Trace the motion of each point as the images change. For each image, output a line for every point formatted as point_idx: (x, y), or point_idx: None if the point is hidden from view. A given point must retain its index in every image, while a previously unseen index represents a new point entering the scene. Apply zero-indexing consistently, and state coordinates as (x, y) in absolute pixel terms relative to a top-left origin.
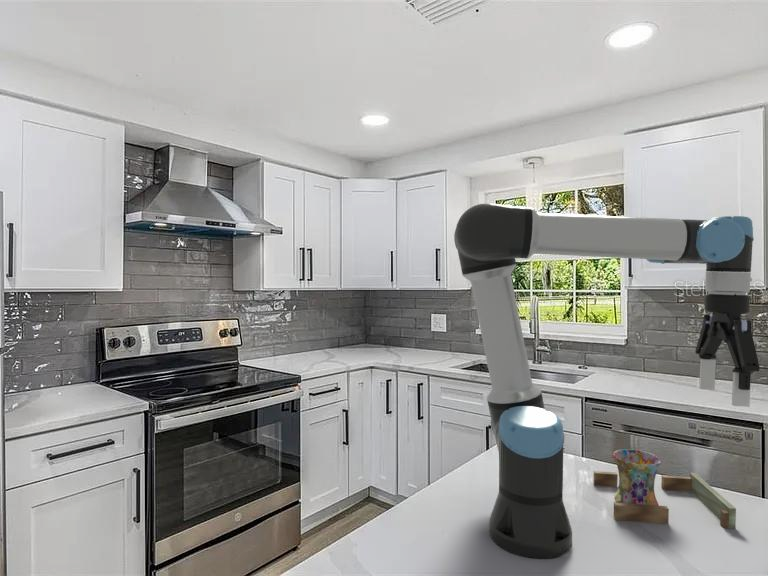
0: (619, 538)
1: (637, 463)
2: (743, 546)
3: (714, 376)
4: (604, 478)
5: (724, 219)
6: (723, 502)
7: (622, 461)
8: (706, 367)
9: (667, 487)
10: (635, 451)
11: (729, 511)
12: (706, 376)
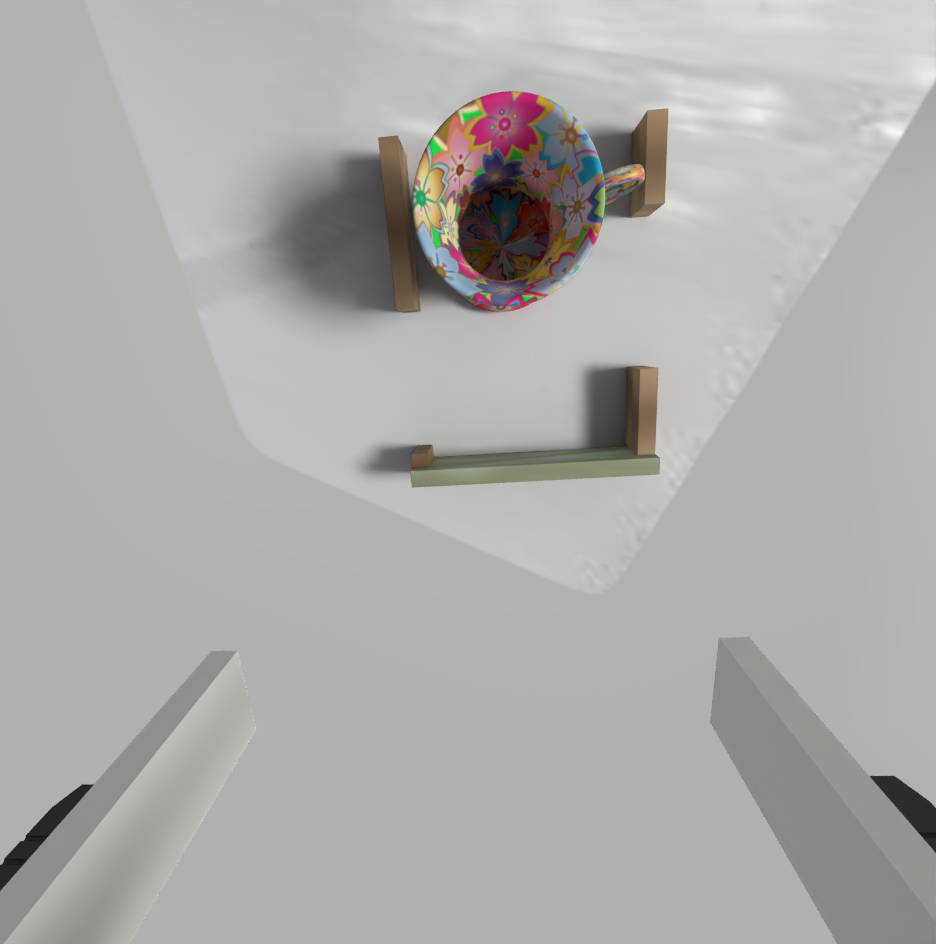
0: (280, 145)
1: (563, 236)
2: (336, 454)
3: (775, 828)
4: (640, 159)
5: None
6: (444, 470)
7: (445, 122)
8: (856, 871)
9: (629, 379)
10: (591, 221)
11: (411, 469)
12: (779, 766)
